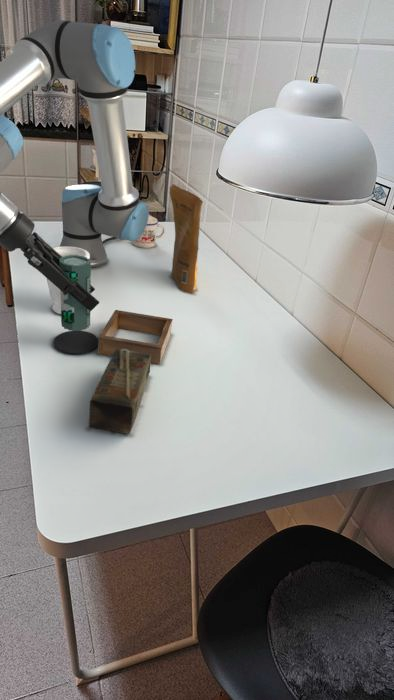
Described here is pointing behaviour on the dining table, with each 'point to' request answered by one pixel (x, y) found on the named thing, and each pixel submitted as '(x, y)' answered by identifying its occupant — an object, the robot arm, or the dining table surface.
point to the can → (71, 309)
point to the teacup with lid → (149, 234)
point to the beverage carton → (120, 391)
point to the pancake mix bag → (185, 237)
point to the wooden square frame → (135, 323)
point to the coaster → (76, 342)
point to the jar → (52, 288)
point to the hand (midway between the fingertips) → (92, 299)
